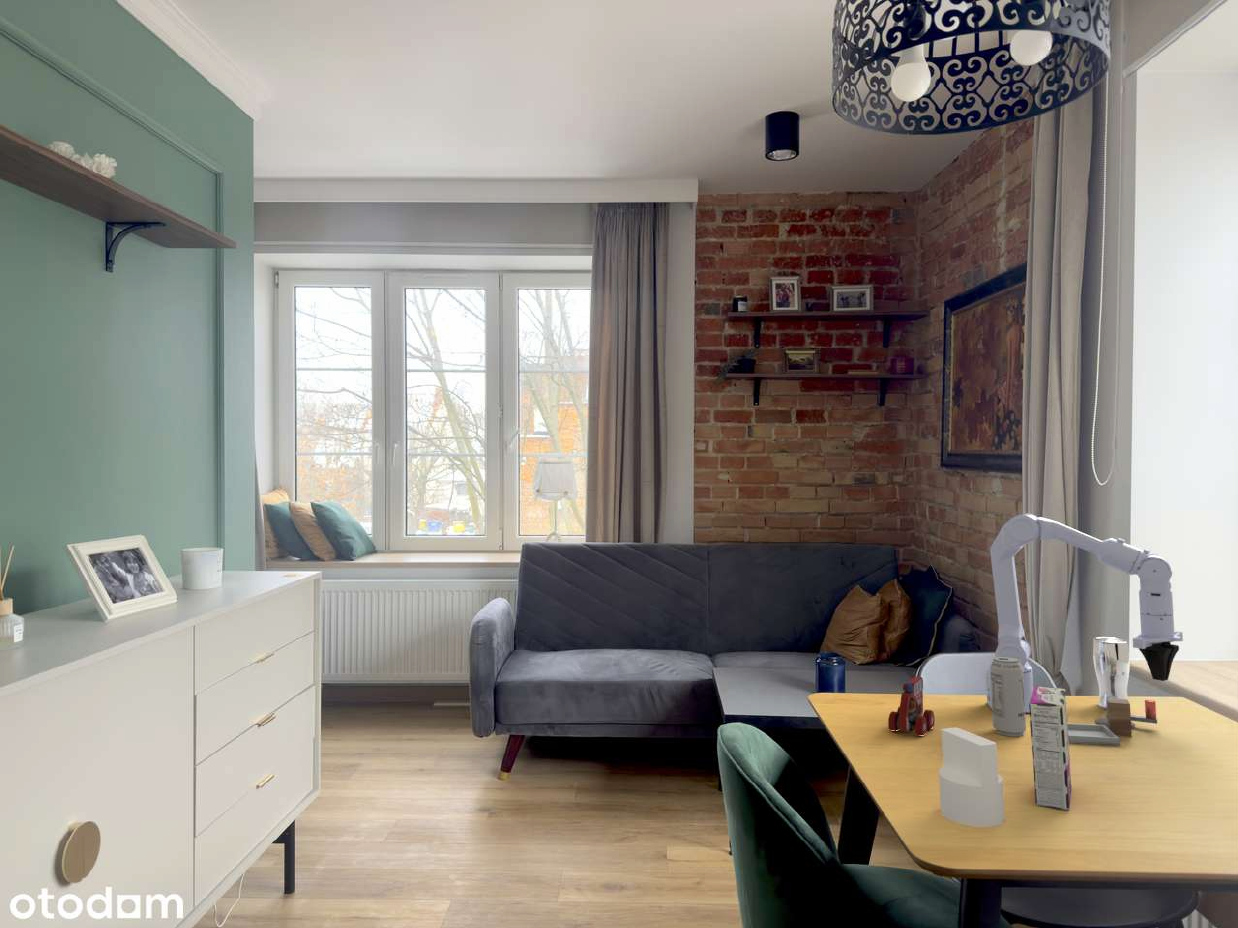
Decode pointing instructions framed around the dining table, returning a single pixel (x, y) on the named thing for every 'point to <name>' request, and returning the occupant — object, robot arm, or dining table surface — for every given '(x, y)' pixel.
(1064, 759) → the candy bar box
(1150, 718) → the crank
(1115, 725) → the block
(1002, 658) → the energy drink can
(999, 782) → the base with upright slab
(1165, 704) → the dining table surface
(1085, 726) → the tray
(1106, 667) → the beer glass
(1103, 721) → the crank hub
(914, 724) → the toy fire truck
